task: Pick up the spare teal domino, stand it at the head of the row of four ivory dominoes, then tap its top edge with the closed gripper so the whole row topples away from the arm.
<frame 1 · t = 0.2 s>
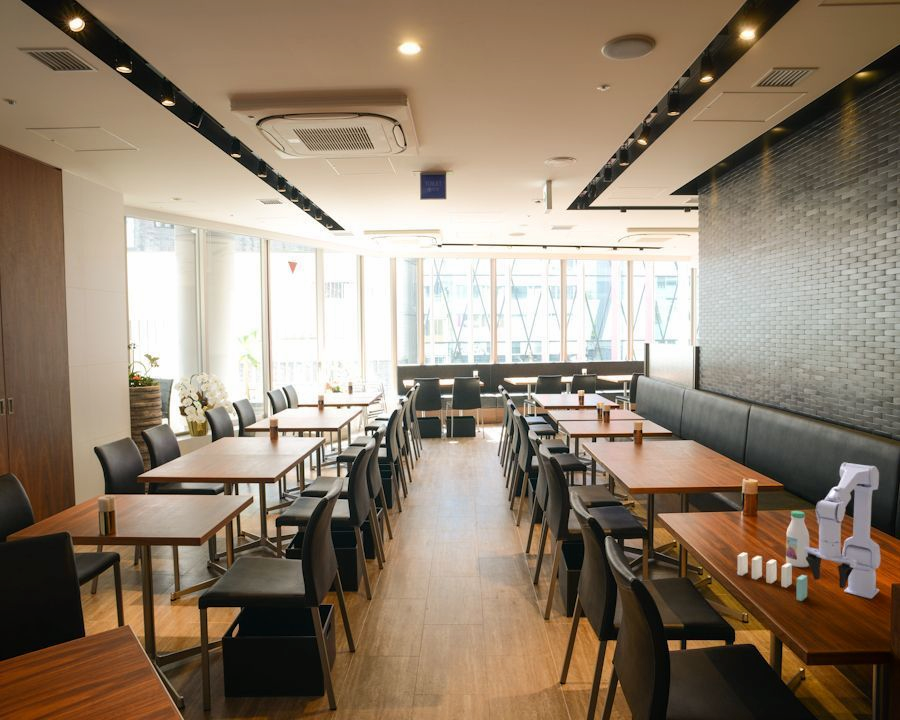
hand: (829, 583, 191), 10 cm above the table, fingers open, 7 cm apart
domino 5: (742, 573, 226), on the table
domino teal: (801, 598, 204), on the table
milk bottle: (797, 564, 234), on the table
domino 4: (756, 577, 222), on the table
domino 2: (786, 585, 215), on the table
domino 3: (771, 580, 219), on the table
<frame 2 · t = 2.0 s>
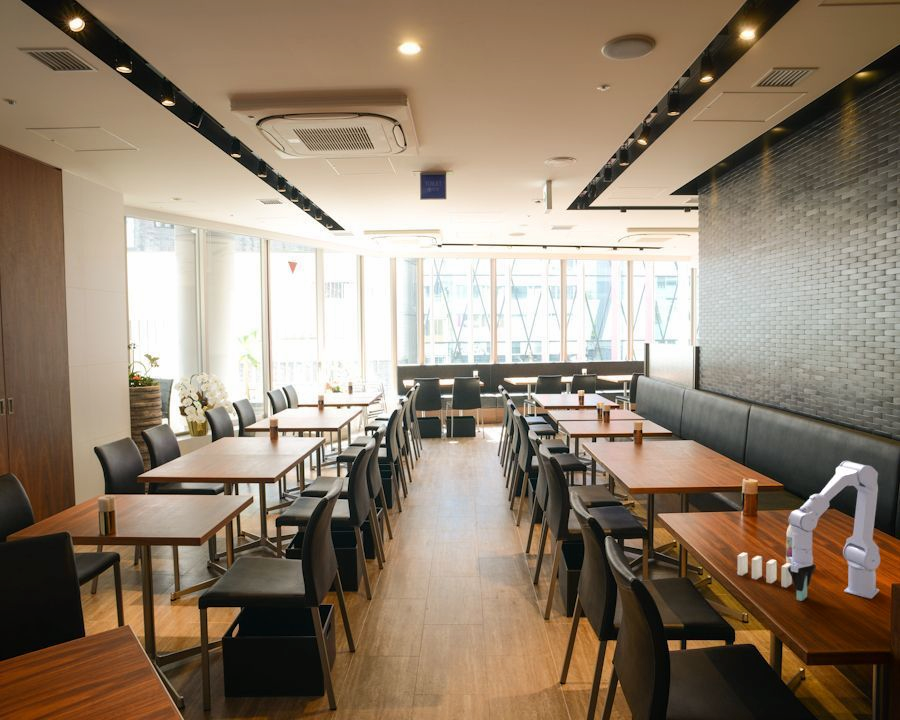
hand: (801, 587, 204), 3 cm above the table, fingers closed on domino teal, 5 cm apart
domino teal: (801, 598, 204), on the table, touching gripper
everything else where it was.
when the fingers open (4 cm above the table, at t = 5.0 s): domino teal drops 1 cm, on the table.
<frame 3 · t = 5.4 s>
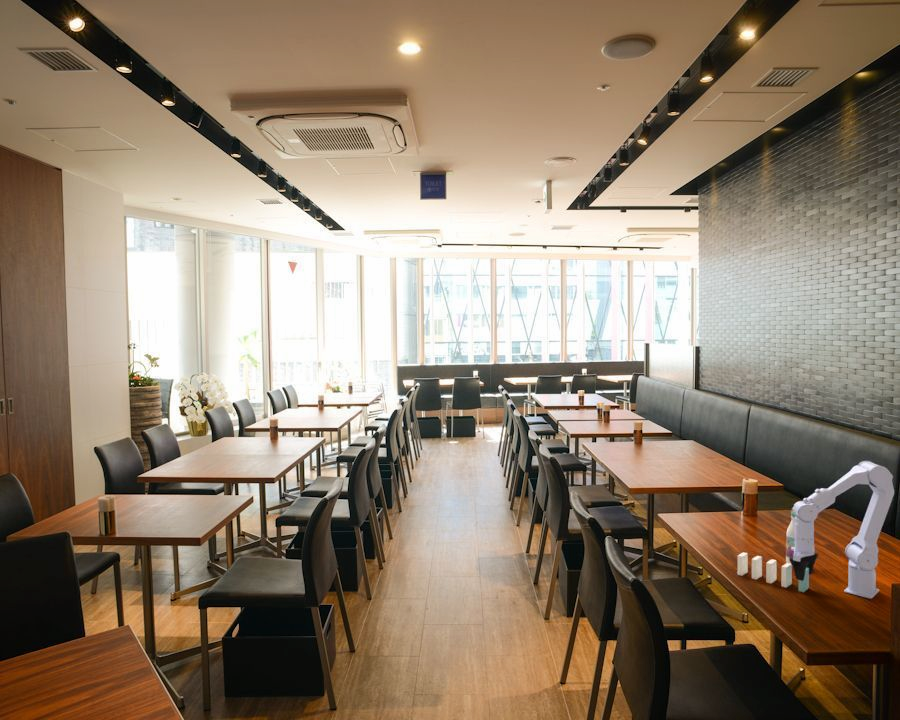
hand: (803, 576, 211), 4 cm above the table, fingers open, 7 cm apart
domino teal: (803, 589, 211), on the table
everything else where it was.
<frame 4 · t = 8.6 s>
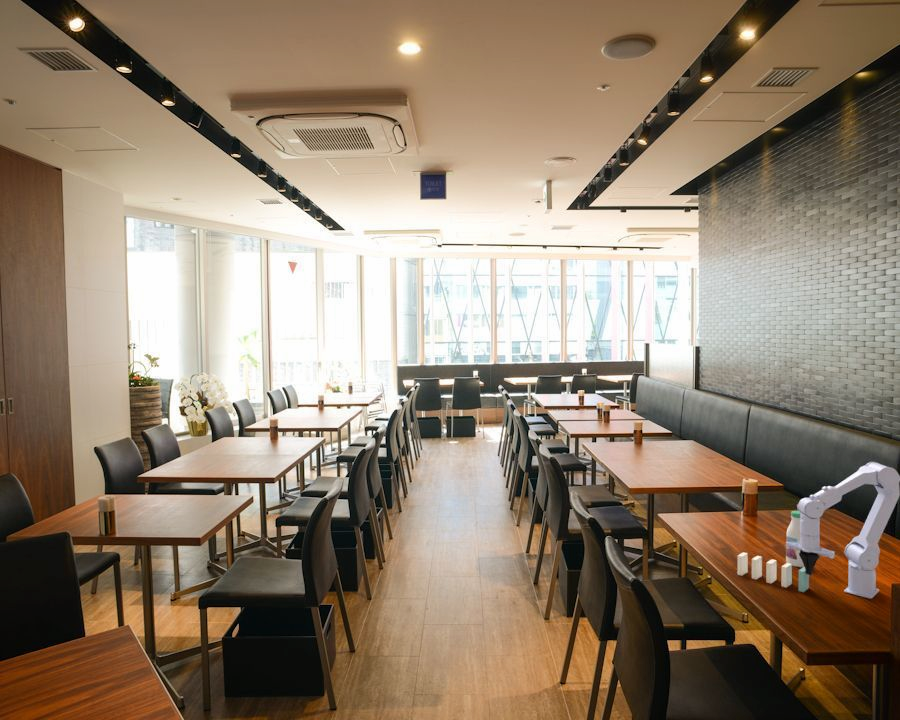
hand: (809, 573, 209), 6 cm above the table, fingers closed
domino teal: (803, 589, 211), on the table, touching gripper
everything else where it was.
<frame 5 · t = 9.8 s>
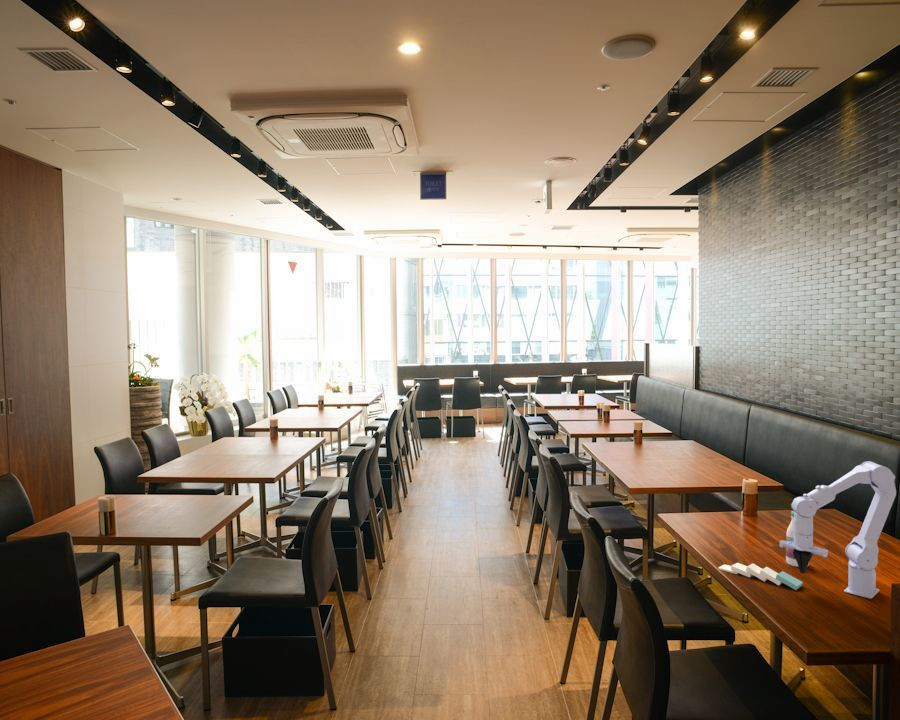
hand: (803, 572, 211), 6 cm above the table, fingers closed
domino 5: (740, 573, 227), on the table, tilted 90°
domino teal: (799, 586, 212), point 1 cm above the table, tilted 73°, touching domino 2
domino 4: (753, 573, 223), point 1 cm above the table, tilted 83°, touching domino 3
domino 2: (782, 581, 216), point 1 cm above the table, tilted 71°, touching domino 3, domino teal
domino 3: (768, 578, 220), point 1 cm above the table, tilted 71°, touching domino 2, domino 4
everything else where it was.
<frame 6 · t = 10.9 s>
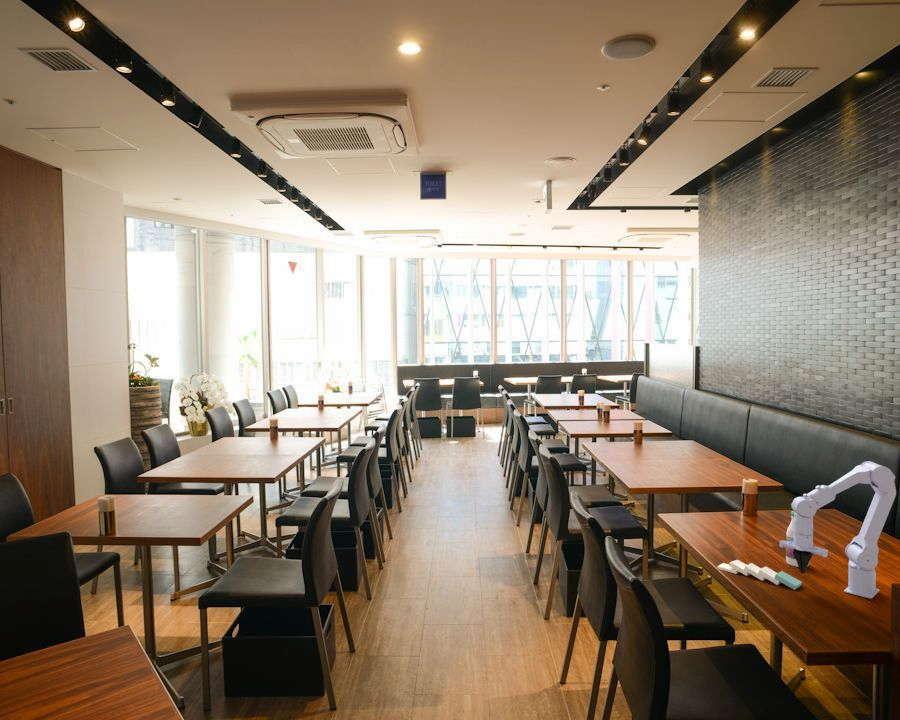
hand: (803, 572, 211), 6 cm above the table, fingers closed
domino 5: (739, 571, 227), on the table, tilted 90°, touching domino 4
domino teal: (798, 586, 212), point 1 cm above the table, tilted 73°
domino 4: (750, 572, 225), point 1 cm above the table, tilted 77°, touching domino 3, domino 5
domino 2: (781, 581, 216), point 1 cm above the table, tilted 71°, touching domino 3
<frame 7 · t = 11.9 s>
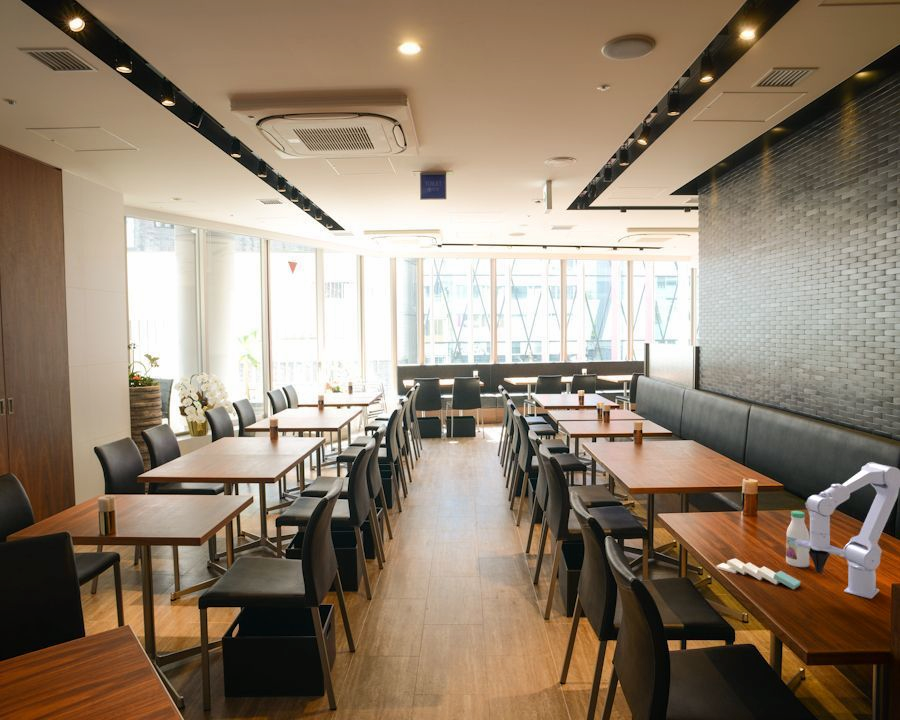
hand: (819, 572, 205), 8 cm above the table, fingers closed
domino 5: (738, 571, 228), on the table, tilted 90°
domino teal: (797, 585, 212), point 1 cm above the table, tilted 73°, touching domino 2
domino 4: (748, 571, 225), point 1 cm above the table, tilted 76°, touching domino 3
domino 2: (779, 580, 217), point 1 cm above the table, tilted 73°, touching domino 3, domino teal
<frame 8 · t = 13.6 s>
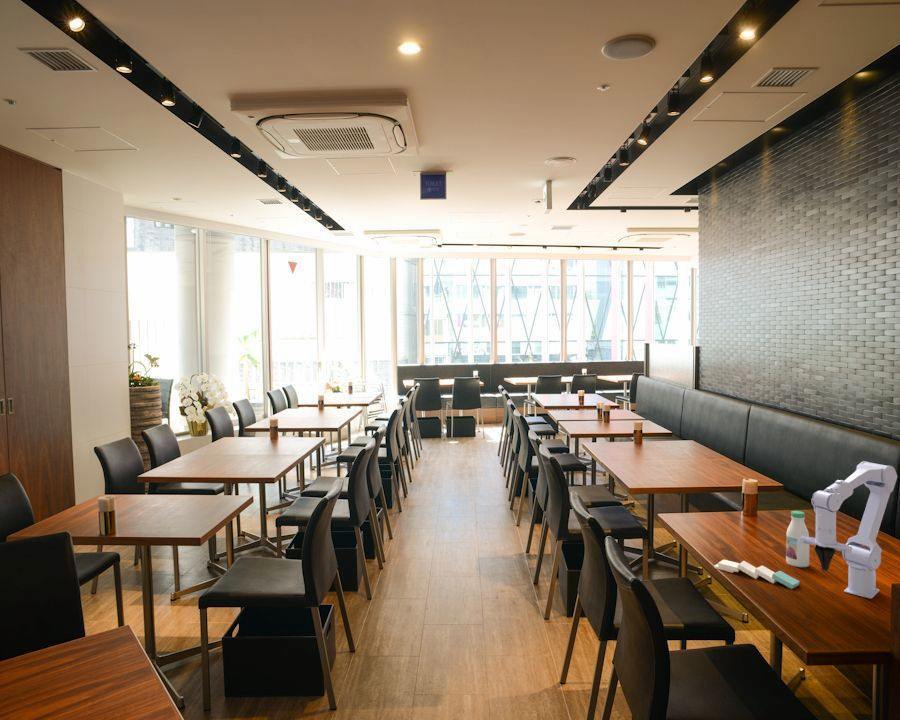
hand: (825, 569, 201), 10 cm above the table, fingers closed
domino 4: (740, 568, 227), point 2 cm above the table, tilted 90°, touching domino 3
domino 3: (759, 575, 222), point 1 cm above the table, tilted 70°, touching domino 2, domino 4
at the end: domino 5 tilted 90°; domino teal tilted 75°; the gripper is holding nothing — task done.
